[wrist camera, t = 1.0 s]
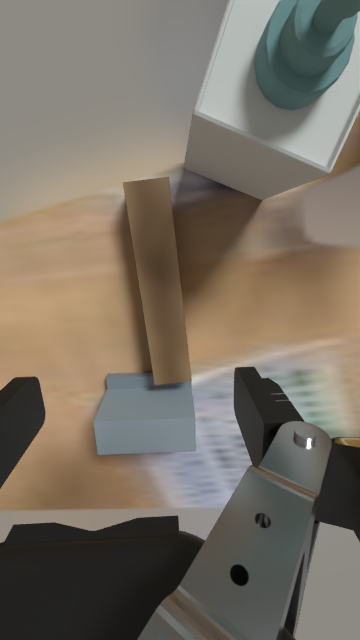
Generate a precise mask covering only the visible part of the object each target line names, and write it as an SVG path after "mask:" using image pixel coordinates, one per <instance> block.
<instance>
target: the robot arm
mask: <svg viewBox="0 0 360 640" xmlns="http://www.w3.org/2000/svg"><path fill="white" fill-rule="evenodd" d="M234 410H235V416H236V419H237V422H238V425H239V427H240V430H241V433H242V436H243V439H244V442H245V444H246V447H247V450H248V453H249V456H250V459H251V461H252V464H253V465H251V466H249V468H248V469H247V471H246V472H245V474H244V476H243V477H242V479H241V481H240V483H239V484H238V486H237V488H236V489H235V491H234V493H233V494H232V496H231V498H230V500H229V501H228V503H227V505H226V506H225V508H224V510H223V512H222V513H221V515H220V517H219V518H218V520H217V522H216V523H215V525H214V527H213V529H212V530H211V532H210V534H209V535H208V537H207V539H206V541H205V540H203V539H201V538H199V537H197V536H195V535H193V534H190V533H187V532H183V531H179V524H178V523H179V522H178V516H164V517H147V518H136V519H133V520H130V521H126V522H123V523H120V524H117V525H113V526H111V527H107V528H104V529H100V530H97V531H88V530H84V529H80V528H76V527H71V526H67V525H63V524H58V523H39V524H38V523H37V524H19V525H13V527H12V529H11V531H10V532H9V534H8V536H7V538H6V540H5V542H2V543H0V640H295V638H294V637H295V633H296V628H297V624H298V619H299V615H300V610H301V605H302V600H303V594H304V589H305V585H306V580H307V576H308V571H309V567H310V562H311V559H312V554H313V550H314V546H315V542H316V538H317V533H318V529H319V525H320V522H323V523H327V524H331V525H335V526H339V527H343V528H347V529H350V530H354V532H355V534H356V536H357V538H358V539H359V541H360V447H354V446H348V445H343V444H338V443H334V442H332V441H331V439H330V437H329V436H328V434H327V433H326V432H325V431H323V430H322V429H321V428H319V427H317V426H315V425H313V424H310V423H307V422H305V421H304V420H303V419H302V417H301V416H300V414H299V413H298V412H297V410H296V409H295V407H294V406H293V405H292V403H291V402H290V401H289V399H288V397H287V396H286V395H285V394H284V392H283V390H282V389H281V388H280V386H279V385H278V384H277V383H275V382H274V381H272V380H271V379H269V378H261V377H260V375H259V373H258V372H257V370H256V369H255V367H237V368H235V372H234ZM44 420H45V407H44V402H43V398H42V393H41V388H40V383H39V380H38V378H37V377H16V378H14V379H12V380H11V381H10V382H9V383H8V384H7V385H6V386H5V387H4V388H3V389H2V390H0V488H1V487H2V485H3V484H4V482H5V481H6V479H7V478H8V476H9V475H10V473H11V472H12V470H13V469H14V467H15V466H16V464H17V463H18V461H19V460H20V459H21V457H22V456H23V454H24V453H25V451H26V450H27V448H28V447H29V445H30V444H31V442H32V441H33V439H34V438H35V436H36V435H37V433H38V432H39V430H40V429H41V427H42V426H43V424H44Z"/></svg>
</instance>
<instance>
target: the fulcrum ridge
mask: <svg viewBox="0 0 360 640" xmlns="http://www.w3.org/2000/svg"><path fill="white" fill-rule="evenodd" d="M106 384H107V391H106V393H105V396H104V398H103V400H102V403H101V405H100V407H99V410H98V412H97V414H96V417H95V419H94V430H95V437H96V445H97V452H98V455H111V454H137V453H163V452H189V451H196V443H195V412H194V404H193V396H192V388H191V381H187V382H178V383H170V384H161V385H155V383H154V376H153V372H151V373H121V374H107V377H106Z"/></svg>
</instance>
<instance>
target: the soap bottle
mask: <svg viewBox="0 0 360 640" xmlns="http://www.w3.org/2000/svg"><path fill="white" fill-rule="evenodd" d="M359 111H360V0H228V4H227V7H226V10H225V13H224V16H223V19H222V22H221V25H220V29H219V32H218V35H217V38H216V41H215V44H214V47H213V51H212V54H211V57H210V60H209V63H208V67H207V69H206V73H205V76H204V79H203V82H202V85H201V88H200V91H199V94H198V98H197V101H196V104H195V107H194V110H193V115H192V121H191V127H190V133H189V139H188V145H187V152H186V157H185V163H184V168H185V169H186V170H189V171H191V172H194V173H196V174H199V175H201V176H204V177H206V178H208V179H211V180H213V181H216V182H218V183H221V184H223V185H226V186H228V187H230V188H233V189H235V190H238V191H240V192H243V193H245V194H248V195H250V196H252V197H255V198H257V199H260V200H264V199H266V198H269V197H272V196H274V195H277V194H279V193H282V192H284V191H287V190H290V189H292V188H295V187H297V186H300V185H302V184H305V183H308V182H310V181H313V180H315V179H318V178H320V177H323V176H326V175H328V174H329V173H330V172H331V171H332V169H333V167H334V165H335V162H336V160H337V158H338V156H339V154H340V152H341V149H342V147H343V145H344V143H345V141H346V139H347V137H348V134H349V132H350V130H351V128H352V126H353V124H354V121H355V119H356V117H357V115H358V113H359Z"/></svg>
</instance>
